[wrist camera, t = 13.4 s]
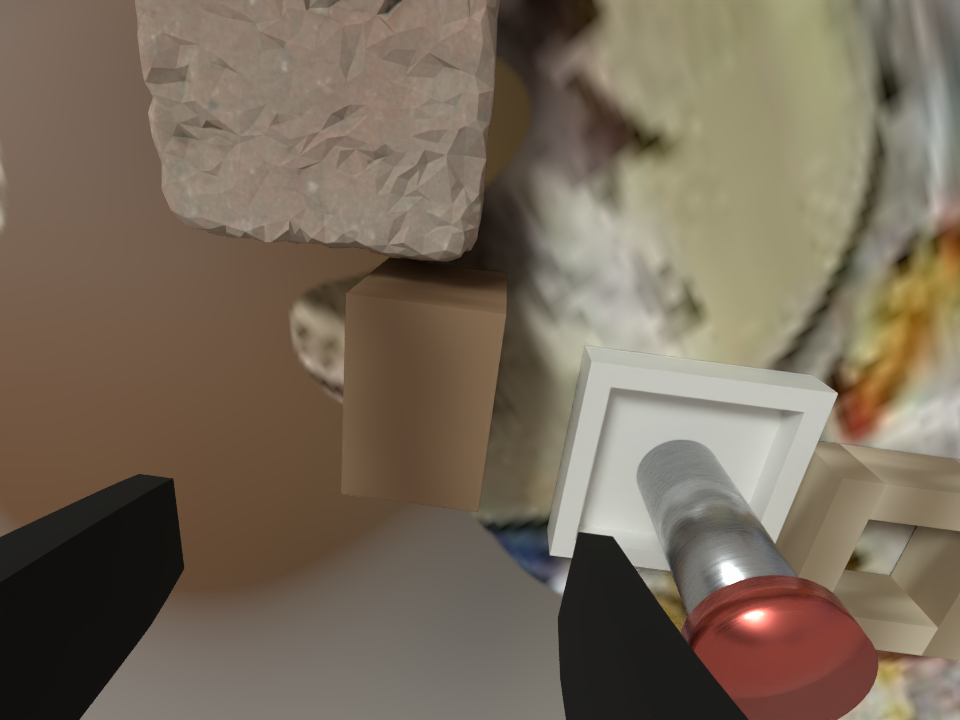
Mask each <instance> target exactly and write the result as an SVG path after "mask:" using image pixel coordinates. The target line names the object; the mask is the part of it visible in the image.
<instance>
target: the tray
mask: <svg viewBox="0 0 960 720" xmlns="http://www.w3.org/2000/svg"><path fill="white" fill-rule="evenodd" d="M837 395H838V393H837V392H835V391H834V390H832V389H831V388H830V387H828V386H827V385H825V384H824V383H823V382H821V381H820V380H818V379H817V378H816V377H814V376H813V375H807V374H799V373H791V372H784V371H776V370H768V369H760V368H753V367H745V366H737V365H730V364H722V363H714V362H706V361H699V360H691V359H683V358H676V357H668V356H660V355H652V354H645V353H637V352H629V351H622V350H614V349H606V348H599V347H591V346H585V349H584V354H583V359H582V363H581V368H580V373H579V378H578V383H577V388H576V392H575V397H574V402H573V407H572V412H571V416H570V421H569V426H568V431H567V436H566V441H565V445H564V450H563V455H562V460H561V465H560V469H559V474H558V479H557V484H556V489H555V493H554V498H553V503H552V508H551V513H550V518H549V522H548V527H547V532H548V541H549V551H550V555H553V556H561V557H568V558H572V556H573V552H574V548H575V543H576V539H577V535H578V532H584V533H591V534H599V535H606V536H613V537H614V539H615V540H616V541H617V543H618V544H619V546H620V547H621V549H622V550H623V551H624V553H625V554H626V556H627V557H628V559H629V560H630V562H631V563H632V565H633V566H636V567H644V568H652V569H659V570H667V571H671V570H670V568H669V565H668V563H667V560H666V557H665V555H664V552H663V550H662V547H661V545H660V542H659V539H658V537H657V534H656V532H655V529H654V526H653V524H652V521H651V519H650V516H649V514H648V511H647V508H646V506H645V503H644V501H643V498H642V496H641V493H640V490H639V488H638V485H637V480H636V475H637V469H638V466H639V464H640V462H641V460H642V459H643V458H644V456H645V455H646V454H647V453H648V452H649V451H650V450H652V449H653V448H655V447H656V446H658V445H660V444H662V443H665V442H668V441H673V440H691V441H695V442H698V443H701V444H702V445H704V446H706V447H707V448H709V449H710V450H711V451H712V452H713V454H714V455H715V457H716V458H717V459H718V461H719V462H720V464H721V465H722V467H723V468H724V470H725V471H726V473H727V474H728V475H729V477H730V478H731V480H732V481H733V483H734V484H735V486H736V487H737V489H738V490H739V491H740V493H741V494H742V496H743V497H744V499H745V500H746V502H747V503H748V505H749V506H750V508H751V509H752V510H753V512H754V513H755V515H756V516H757V518H758V519H759V521H760V522H761V524H762V525H763V526H764V528H765V529H766V531H767V532H768V534H769V535H770V537H771V538H772V540H773V541H774V543H776V541H777V538H778V536H779V534H780V531H781V529H782V526H783V524H784V522H785V519H786V517H787V514H788V512H789V510H790V507H791V505H792V502H793V500H794V498H795V495H796V493H797V491H798V488H799V486H800V483H801V481H802V479H803V476H804V474H805V471H806V469H807V467H808V464H809V462H810V459H811V457H812V455H813V452H814V450H815V447H816V445H817V443H818V440H819V438H820V436H821V433H822V431H823V428H824V426H825V424H826V421H827V419H828V416H829V414H830V412H831V409H832V407H833V404H834V402H835V400H836V397H837Z"/></svg>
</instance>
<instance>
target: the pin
mask: <svg viewBox="0 0 960 720" xmlns="http://www.w3.org/2000/svg"><path fill="white" fill-rule="evenodd" d="M636 480H637V485H638V488H639V490H640V493H641V496H642V498H643V501H644V503H645V506H646V508H647V511H648V514H649V516H650V519H651V521H652V524H653V526H654V529H655V532H656V534H657V537H658V539H659V542H660V545H661V547H662V550H663V552H664V555H665V557H666V560H667V563H668V565H669V568H670V570H671V573H672V575H673V578H674V581H675V583H676V586H677V588H678V591H679V594H680V596H681V599H682V601H683V604H684V606H685V609H686V612H687V614H688V617H687V619H686V621H685V623H684V625H683V628H682V631H681V634H682V636H683V637H684V638H685V640H686V641H687V642H688V644H689V645H690V646H691V648H692V649H693V650H694V652H695V653H696V654H697V656H698V657H699V658H700V660H701V661H702V662H703V663H704V665H705V666H706V667H707V669H708V670H709V671H710V673H711V674H712V675H713V676H714V678H715V679H716V680H717V681H718V683H719V684H720V685H721V686H722V687H723V689H724V690H725V691H726V692H727V694H728V695H729V696H730V697H731V699H732V700H733V701H734V702H735V703H736V705H737V706H738V707H739V708H740V710H741V711H742V712H743V713H744V714H745V716H746V717H747V718H748V719H749V720H837V719H839V718H840V717H842V716H844V715H845V714H847V713H848V712H850V711H851V710H852V709H853V708H855V707H856V706H857V705H858V704H859V703H860V702H861V701H862V700H863V699H864V698H865V697H866V695H867V694H868V693H869V691H870V690H871V688H872V686H873V684H874V682H875V679H876V676H877V671H878V657H877V653H876V650H875V648H874V645H873V643H872V642H871V641H870V639H869V638H868V636H867V635H866V634H865V632H864V631H863V630H862V628H861V627H860V626H859V624H858V623H857V622H856V620H855V619H854V618H853V616H852V615H851V614H850V612H849V611H848V610H847V608H846V607H845V606H844V604H843V603H842V602H841V600H840V599H839V598H838V597H837V596H836V595H835V594H834V593H833V592H831V591H830V590H829V589H827V588H826V587H824V586H822V585H820V584H818V583H816V582H813V581H810V580H807V579H804V578H799V577H798V576H797V575H796V573H795V572H794V570H793V569H792V567H791V566H790V564H789V563H788V561H787V560H786V559H785V557H784V556H783V554H782V553H781V551H780V550H779V548H778V547H777V545H776V544H775V543H774V541H773V540H772V538H771V537H770V535H769V534H768V532H767V531H766V529H765V528H764V526H763V525H762V524H761V522H760V521H759V519H758V518H757V516H756V515H755V513H754V512H753V510H752V509H751V508H750V506H749V505H748V503H747V502H746V500H745V499H744V497H743V496H742V494H741V493H740V491H739V490H738V489H737V487H736V486H735V484H734V483H733V481H732V480H731V478H730V477H729V475H728V474H727V473H726V471H725V470H724V468H723V467H722V465H721V464H720V462H719V461H718V459H717V458H716V457H715V455H714V454H713V452H712V451H711V450H710V449H709V448H707V447H706V446H704V445H702V444H701V443H698V442H695V441H691V440H673V441H668V442H665V443H662V444H660V445H658V446H656V447H655V448H653V449H652V450H650V451H649V452H648V453H647V454H646V455H645V456H644V458H643V459H642V460H641V462H640V464H639V466H638V469H637V475H636Z"/></svg>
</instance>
